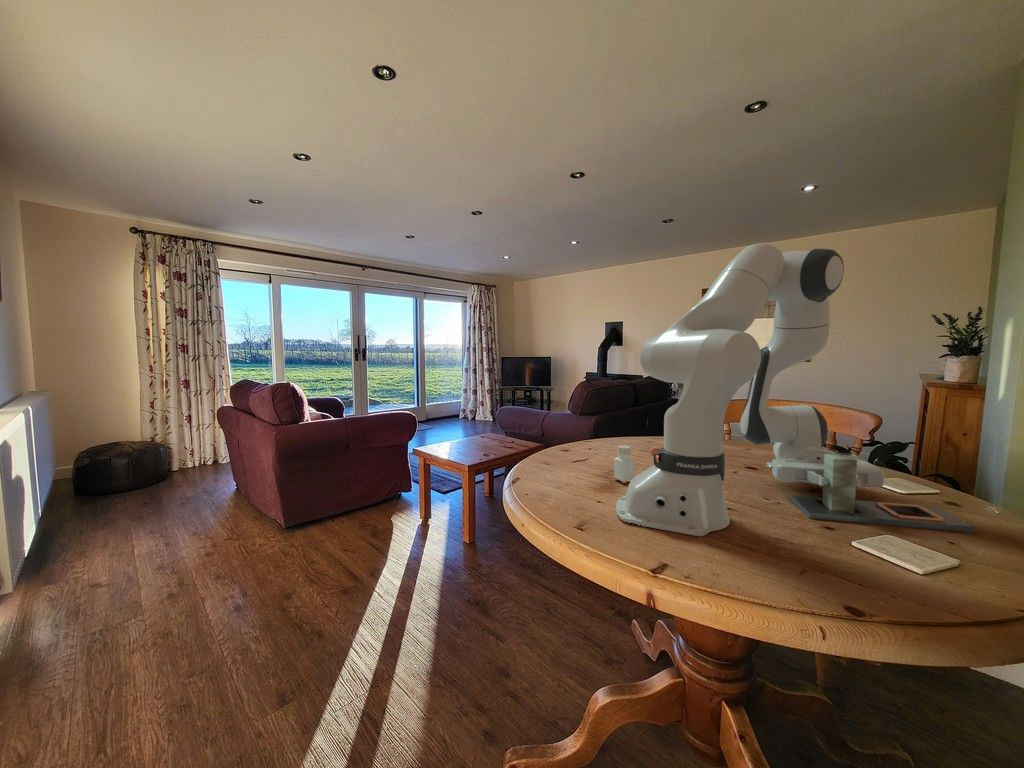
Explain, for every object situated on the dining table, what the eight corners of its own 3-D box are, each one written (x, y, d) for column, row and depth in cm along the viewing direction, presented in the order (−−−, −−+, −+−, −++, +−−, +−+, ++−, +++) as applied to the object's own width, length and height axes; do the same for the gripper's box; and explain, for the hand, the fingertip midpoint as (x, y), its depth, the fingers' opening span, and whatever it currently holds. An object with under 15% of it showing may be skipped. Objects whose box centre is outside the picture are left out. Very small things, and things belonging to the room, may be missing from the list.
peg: (831, 515, 82) (833, 458, 81) (822, 507, 86) (824, 454, 85) (854, 516, 81) (856, 460, 80) (844, 509, 84) (846, 455, 83)
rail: (809, 518, 80) (809, 511, 80) (790, 500, 90) (790, 494, 90) (973, 532, 73) (974, 525, 73) (933, 511, 82) (934, 504, 82)
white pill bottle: (634, 482, 104) (634, 447, 104) (622, 484, 103) (622, 449, 102) (625, 478, 108) (625, 444, 107) (613, 480, 107) (613, 445, 106)
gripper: (763, 450, 98) (784, 465, 84) (863, 454, 92) (902, 472, 78) (762, 474, 98) (783, 493, 85) (861, 480, 92) (900, 502, 79)
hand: (841, 483), depth 82 cm, fingers closed on peg, 4 cm apart
